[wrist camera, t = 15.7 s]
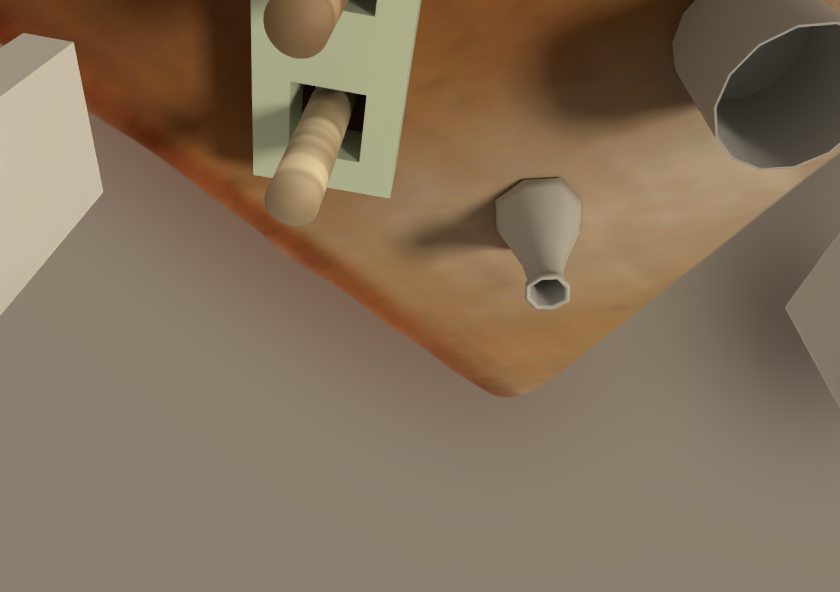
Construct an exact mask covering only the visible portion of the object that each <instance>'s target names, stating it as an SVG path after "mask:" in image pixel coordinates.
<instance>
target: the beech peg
mask: <svg viewBox="0 0 840 592" xmlns="http://www.w3.org/2000/svg"><path fill="white" fill-rule="evenodd" d="M357 96H358V94H356V93H351V92H345V91H340V90H334V89H329V88H323V87H318V86H315V89H314V91H313V93H312V95H311V97H310V99H309V101H308V103H307V106H306V108H305V110H304V112H303V114H302V116H301V118H300V120H299V123H298V125H297V127H296V129H295V131H294V133H293V135H292V137H291V140H290V142H289V144H288V146H287V148H286V150H285V152H284V154H283V157H282V159H281V161H280V163H279V165H278V167H277V169H276V171H275V174H274V176H273V178H272V180H271V182H270V184H269V186H268V188H267V191H266V193H265V205H266V208H267V210H268V211H269V213H270V214H271V215H272V216H273V217H274V218H275V219H276V220H278V221H279V222H281V223H283V224H286V225H290V226H303V225H306V224H308V223H310V222H312V221H313V220H314V219H315V218H316V216H317V214H318V211H319V208H320V205H321V202H322V200H323V197H324V194H325V191H326V188H327V185H328V182H329V179H330V176H331V173H332V170H333V167H334V164H335V161H336V158H337V155H338V152H339V149H340V147H341V144H342V141H343V138H344V135H345V132H346V129H347V126H348V123H349V120H350V117H351V114H352V111H353V108H354V105H355V102H356V99H357Z"/></svg>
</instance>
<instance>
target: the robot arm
mask: <svg viewBox="0 0 840 592" xmlns="http://www.w3.org/2000/svg"><path fill="white" fill-rule="evenodd" d="M102 193H103V188H102V183H101V178H100V173H99V168H98V163H97V158H96V154H95V148H94V143H93V138H92V133H91V128H90V123H89V118H88V113H87V108H86V103H85V97H84V92H83V87H82V82H81V77H80V72H79V67H78V62H77V57H76V52H75V47H74V42H70V41H64V40H58V39H53V38H47V37H42V36H36V35H31V34H25V33H23V34H21V35H20V36H18V37H17V38H15V39H14V40H12V41H11V42H9V43H7V44H6V45H4V46H3V47H1V48H0V315H1V314H2V313H3V312H4V310H5V309H6V308H7V307H8V306H9V304H10V303H11V302H12V301H13V300H14V298H15V297H16V296H17V295H18V293H19V292H20V291H21V290H22V289H23V288H24V286H25V285H26V284H27V283H28V282H29V280H30V279H31V278H32V277H33V276H34V274H35V273H36V272H37V271H38V270H39V268H40V267H41V266H42V265H43V264H44V262H45V261H46V260H47V258H49V256H50V255H51V254H52V253H53V251H54V250H55V249H56V248H57V247H58V245H59V244H60V243H61V242H62V241H63V239H64V238H65V237H66V236H67V235H68V233H69V232H70V231H71V230H72V229H73V227H74V226H75V225H76V224H77V223H78V222H79V220H80V219H81V218H82V217H83V215H84V214H85V213H86V212H87V211H88V210H89V208H90V207H91V206H92V205H93V204H94V202H95V201H96V200H97V199H98V198H99V196H100V195H101V194H102ZM785 309H786V311H787V312H788V314H789V316H790V318H791V320H792V322H793V323H794V325H795V327H796V329H797V331H798V333H799V334H800V336H801V338H802V340H803V342H804V344H805V346H806V347H807V349H808V351H809V353H810V355H811V356H812V358H813V360H814V362H815V364H816V366H817V368H818V370H819V371H820V373H821V375H822V377H823V379H824V381H825V382H826V384H827V386H828V388H829V390H830V392H831V394H832V395H833V397H834V399H835V401H836V403H837V405H838V407H839V408H840V233H839V234H838V235H837V236H836V238H835V239H834V241H833V242H832V244H831V245H830V246H829V248H828V249H827V250H826V252H825V253H824V254H823V256H822V257H821V258H820V260H819V261H818V263H817V264H816V265H815V267H814V268H813V269H812V271H811V272H810V274H809V275H808V276H807V278H806V279H805V280H804V282H803V283H802V285H801V286H800V287H799V289H798V290H797V291H796V293H795V294H794V296H793V297H792V298H791V300H790V301H789V302H788V304H787V305H786V307H785Z"/></svg>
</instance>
